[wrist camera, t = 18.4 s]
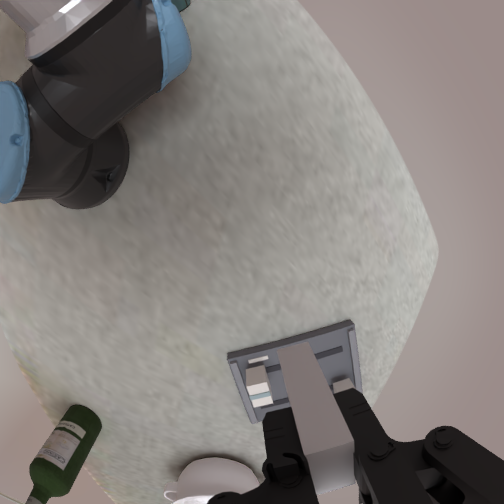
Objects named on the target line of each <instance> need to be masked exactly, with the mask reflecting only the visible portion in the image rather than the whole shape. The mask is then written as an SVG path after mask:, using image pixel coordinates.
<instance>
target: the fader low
mask: <svg viewBox="0 0 504 504" xmlns="http://www.w3.org/2000/svg"><path fill="white" fill-rule="evenodd" d="M333 388H334V394H335V393H338V392H341V391H344V390H347V389H350V388H354V389H355V387H354V385H353V384H352V382H351V380H350V378H347V379H344V380H341V381H338V382H335V383H333Z"/></svg>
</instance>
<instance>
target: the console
mask: <svg viewBox="0 0 504 504" xmlns="http://www.w3.org/2000/svg"><path fill="white" fill-rule="evenodd" d="M304 342H308V343H309V345H310V347H311V349H312V351H313V353H314V355H315V357H316V360H317V362H318V364H319V366H320V368H321V370H322V372H323V375H324V377H325V379H326V381H327V383H328V385H329V387H330V390H331V392H332V394H334V388H333V383H335V382H338V381H341V380H344V379H347V378H350V380H351V382H352V384H353V385H354V387H355V389H356V390H358V391H359V392H361V393H362V382H361V372H360V364H359V355H358V347H357V340H356V332H355V325H354V323H353V322H352V321H351V320H347V321H344V322H341V323H338V324H334V325H331V326H328V327H325V328H321V329H318V330H315V331H311V332H308V333H304V334H301V335H297V336H294V337H290V338H287V339H283V340H279V341H275V342H272V343H268V344H264V345H260V346H256V347H252V348H248V349H244V350H239V351H235V352H231V353H228V356H227V360H228V363H229V366H230V368H231V371H232V374H233V377H234V379H235V382H236V385H237V388H238V390H239V393H240V396H241V398H242V401H243V404H244V406H245V409H246V411H247V414H248V417H249V419H250V422H251V423H252V424H255V423H258V422H260V421H263V419H264V417H265V414H266V412H270V411H274V410H279V409H283V408H287V407H291V405H290V401H289V398H288V394H287V390H286V386H285V382H284V378H283V373H282V369H281V365H280V361H279V357H278V353H277V350H278V349H282V348H285V347H289V346H293V345H297V344H301V343H304ZM262 365H264V366H265V369H266V373H267V376H268V379H269V383H270V386H271V392H272V399H273V403H272V404H268V405H264V406H259V407H255V408H254V407H253V404H252V401H251V400H250V397H249V393H248V390H247V387H246V369H249V368H253V367H258V366H262Z"/></svg>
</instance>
